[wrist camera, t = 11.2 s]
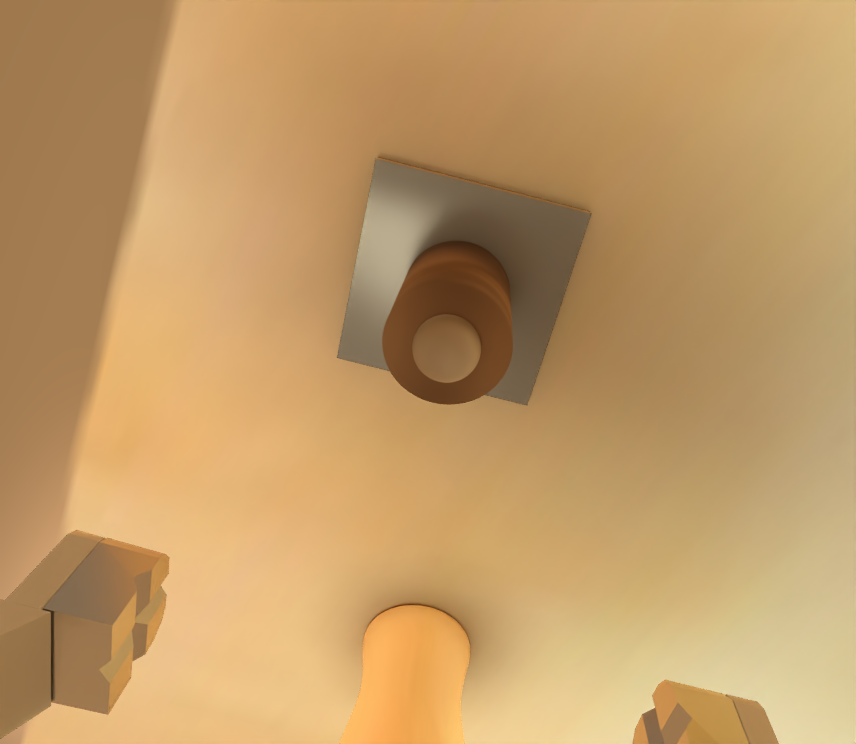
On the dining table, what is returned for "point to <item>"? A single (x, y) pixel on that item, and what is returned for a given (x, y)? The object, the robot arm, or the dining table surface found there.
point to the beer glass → (411, 679)
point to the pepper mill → (450, 325)
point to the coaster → (471, 222)
